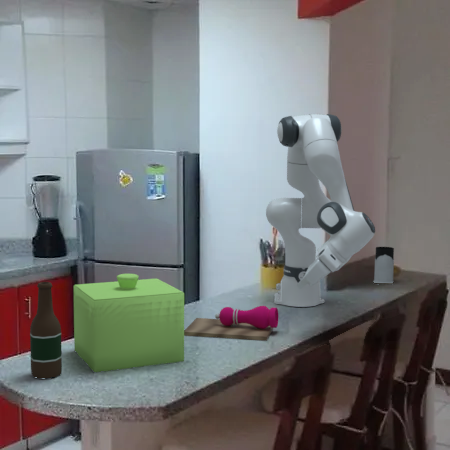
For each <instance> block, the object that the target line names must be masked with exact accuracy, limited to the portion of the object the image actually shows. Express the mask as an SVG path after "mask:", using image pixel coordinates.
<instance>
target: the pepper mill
mask: <svg viewBox="0 0 450 450" xmlns="http://www.w3.org/2000/svg"><path fill="white" fill-rule="evenodd" d="M214 317H215V318H214V319H220V322H221V323H222V324H223V325H225V326H230V325H232V324H233V323H234V324H235V325H236V324H237V325H239V324H240V323H247V324H250V325H252V326H254V327H257V328H260V329H265V328H267V327H268V326H270V327H271V328H273V329H275V328H277V327H278V324H279V310H278V308H277V307H270V309H269V307H267V306H266V305H259V306H256V307H254V308H252V309H248V310H241V309H240V308H233V307H231V306H225V307H223V308H221V310H219V313H217V312H216V313H215V315H214Z"/></svg>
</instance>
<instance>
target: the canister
mask: <svg viewBox="0 0 450 450" xmlns="http://www.w3.org/2000/svg"><path fill="white" fill-rule="evenodd" d="M116 279H117V281H105V282H93V283H91V282H90V283H80V284H74V285H73V328H74V329H73V331H74V332H73V334H74V335H73V337H74V338H73V339H74V341H73V343H74V352H75V351H76V352H77V353H78V354H77V353H76V352H75V353H76V354H77V355H78V357H80V359H81V358H82V359H83V360H84V361H85V362H86V363H87V364H88V365H87V364H86V363H85V362H84V361H83V360H82V359H81V360H82V361H83V362H84V363H85V364H86V365H87V366H88V367H89V368H90V369H91V371H92V370H93V371H94V372H96V373H102V372H101V371H104V372H111V370H112V371H118V370H117V369H119V370H124V369H125V370H126V369H134V368H133V367H135V368H141V367H148V366H149V367H150V366H156V365H159V366H160V365H164V364H174V363H181V362H185V336H184V330H185V292H184V291H181V290H180V289H178V288H176V287H174V286H172V285H170V284H168V283H167V282H165V281H162V280H161V279H159V278H147V279H146V278H143V279H139V275H138V274H135V273H122V274H121V273H120V274H118V275H116ZM93 371H92V372H93ZM94 372H93V373H94Z"/></svg>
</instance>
